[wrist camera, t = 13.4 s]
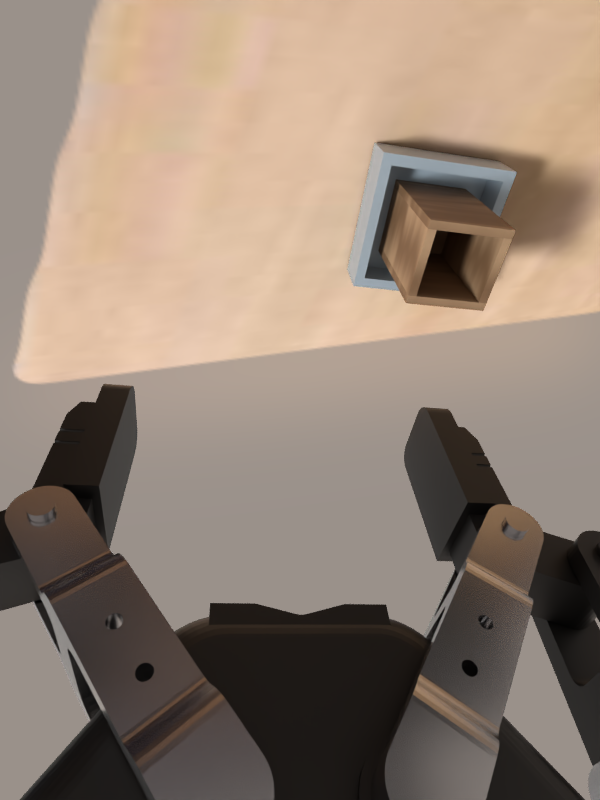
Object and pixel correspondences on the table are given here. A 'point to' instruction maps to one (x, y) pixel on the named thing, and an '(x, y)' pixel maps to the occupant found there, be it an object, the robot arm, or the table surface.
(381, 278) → the blue crate
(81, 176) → the table surface
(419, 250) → the walnut crate
